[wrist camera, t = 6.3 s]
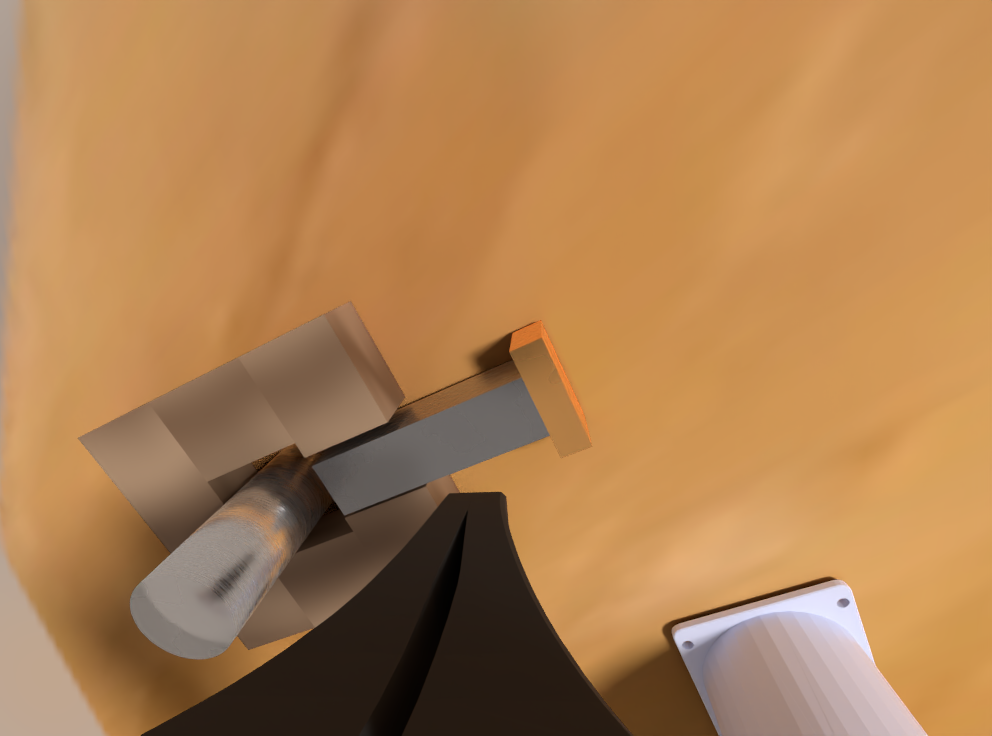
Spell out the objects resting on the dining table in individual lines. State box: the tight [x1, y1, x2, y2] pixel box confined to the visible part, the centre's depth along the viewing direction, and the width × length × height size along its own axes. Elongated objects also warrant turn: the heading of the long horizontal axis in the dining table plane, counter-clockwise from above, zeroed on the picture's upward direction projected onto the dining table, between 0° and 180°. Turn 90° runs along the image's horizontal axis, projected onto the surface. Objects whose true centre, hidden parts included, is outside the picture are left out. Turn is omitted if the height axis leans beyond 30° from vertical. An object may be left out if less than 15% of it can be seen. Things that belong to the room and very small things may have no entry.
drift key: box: [312, 320, 592, 515], centre depth 18 cm, size 4×10×3 cm, turn 116°
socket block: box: [78, 301, 460, 650], centre depth 20 cm, size 12×12×2 cm
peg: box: [130, 444, 334, 659], centre depth 18 cm, size 3×3×8 cm
